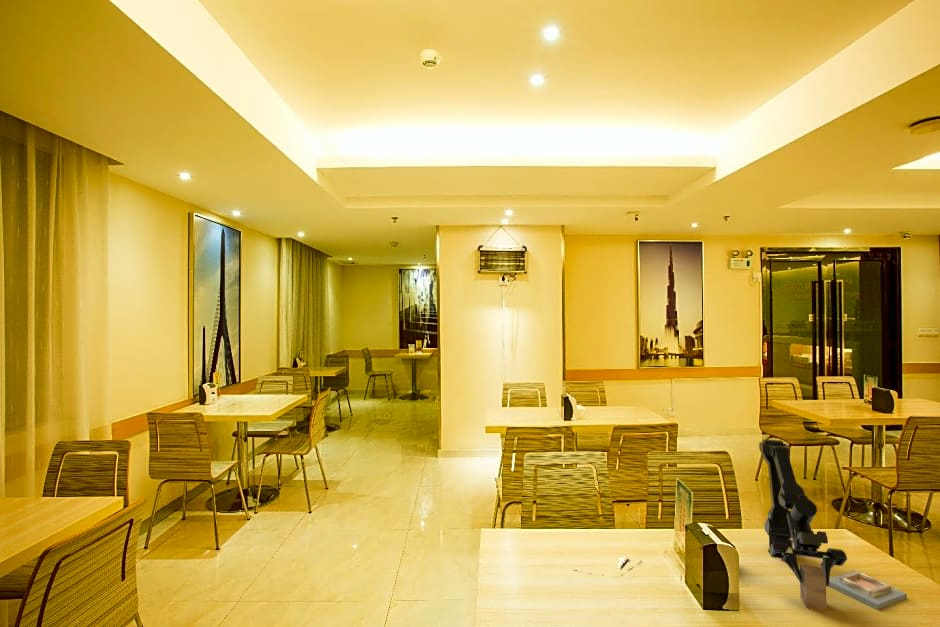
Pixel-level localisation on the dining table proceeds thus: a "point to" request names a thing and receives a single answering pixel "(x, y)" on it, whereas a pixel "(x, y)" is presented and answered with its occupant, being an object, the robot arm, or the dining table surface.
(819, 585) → the walnut block
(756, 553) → the dining table surface
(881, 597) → the grey square framed tray
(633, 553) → the dining table surface
